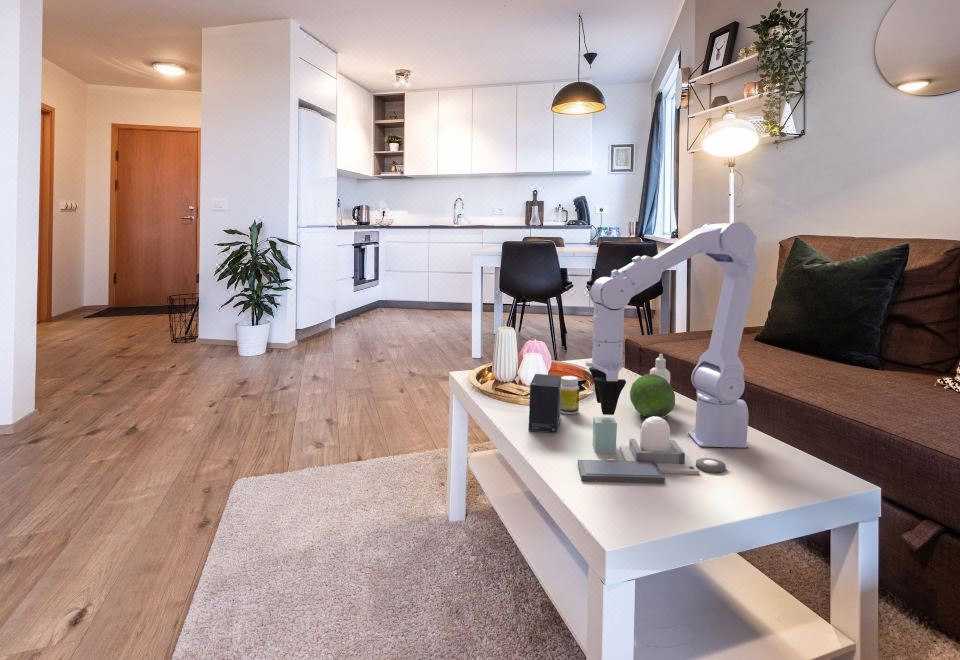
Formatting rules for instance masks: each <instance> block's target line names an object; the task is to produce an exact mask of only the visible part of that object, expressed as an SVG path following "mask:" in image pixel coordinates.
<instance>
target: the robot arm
mask: <svg viewBox="0 0 960 660" xmlns="http://www.w3.org/2000/svg"><path fill="white" fill-rule="evenodd" d="M757 238H758V237H757V235H756V233H754V231H753V230H752V229H751V227H750V226H749V224H746V223H745V222H741V221H733V222H726V223H725V222H724V223H721V222H720V223H719V222H718V223H716V222H709V223H705V224H704V225H703V226H702V227H698V228H695V229H693V230H692V231H691V232H689V234H687V235H685V236H684V237H683V238H680V239H679V240H678V241H676V242H675V243H673V244H671V245H670V246H668V247H667V248H665V249H663V250H662V251H661V252H659V253H657V254H656V255H655V256H652V257H651V256H648V255H642V256H640V255H636V256H634V257H633V258H631V261H632V262H630V263H628V264H627V265H625V266H623V267H621V268H619V269H613V270H612V271H611V272H610V273H611V274H610V277H609V276H602V277H599V278H597V279H596V280H595V281H594V282H593V284H592V285H591V288H590V290H589V291H588V295H589V298H590V300H591V302H592V304H593V316H592V317H593V323H592V347H591V348H592V349H591V351H592V353H591V360H586V361H585V366H586V367H588V370H589V372H590V375H591V377H592V380H593V381H592V382H593V385H594V391H595V392H594V393H595V399H596V402H597V404H600V408H601V413H602V416H603V415H604V416H614V415H615V413H616V409H617V406H618V401H619V398H620V395H621V393H622V391H623V389H624V388H625V386H626V384H627V381H626V379H625V378H624V379H619V372H620V371H621V370H622V369H623V368H624V362H623V355H624V354H623V351H624V332H625V330H624V325H625V307H626V306H627V305H628V304H629V303H630V301H631V299H632V298H633V297H634V296H636V295H638V294H641V292H643V291H644V290H646V289H648V288H650V287H652V286H654V285H655V284H657V283H658V282H660V281H661V278H662V274H663V272H665V271H667V270H668V269H671V268H674V267H675V266H677V265H678V264H681V263H683V262H684V261H686V260H688V259H690V258H692V257H694V256H695V255H698V254H703V255H705V256H707V257H709V258H710V259H712V260H713V261H715V263H717V265H718V266H719V267H720V268H721V269H722V271H723V272H724V277H723V282H722V285H721V291H720V295H719V300H718V305H717V308H716V313H715V317H714V323H713V326H712V327H713V328H712V333H711V335H710V336H711V337H710V341H709V345H708V349H706V351H704V352H702V354H701V355H700V356H699V359H698V362H697V364H696V366H695V368H693V370H692V373H691V376H690V377H691V379H690V381H691V383H692V386H693V387H694V389H696V407H695V408H696V409H695V410H696V411H695V428H694V431H693V430H690V431H688V435H689V436H690V437H691V438H692V440H693V441H694V442H695V443H696V444H697V445H698V446H699V447H703V448H704V447H705V448H706V447H708V448H714V447H715V448H744V449H745V448H748V447H749V445H748V444H747V441H748V440H747V439H748V431H749V430H748V428H749V409H748V405H747V403H746V401H745V400H744V399H740V398H741V396H742V395H743V394H744V391H745V387H746V386H745V385H746V384H745V380H744V374H745V373H744V372H745V366H744V364H743V362H742V361H741V358H740V357H739V355H738V353H739V351H740V346H741V345H740V344H741V342H742V337H743V332H744V328H745V324H746V320H747V315H748V309H749V306H750V301H751V297H752V292H753V288H754V283H755V279H756V274H757V270H758V263H757V258H756V253H755V252H756V251H755V247H756V244H757V243H756V242H757Z"/></svg>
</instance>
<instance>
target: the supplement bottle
mask: <svg viewBox="0 0 960 660" xmlns="http://www.w3.org/2000/svg"><path fill="white" fill-rule="evenodd" d="M578 384H579V378H578V377H577V376H573V375H564V376H561V411H560V414H563V415H576V414H578V413H579V411H580V408H579V407H580V403H579V402H580V386H579V385H578Z"/></svg>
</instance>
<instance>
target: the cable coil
mask: <svg viewBox="0 0 960 660" xmlns="http://www.w3.org/2000/svg"><path fill="white" fill-rule="evenodd" d="M695 466H696V467H697V469H698V470H699V471H703V472H705V473H712V474H720V473H724V472H725V471H726V467H727V466H726V463H725V462H724V461H722V460H719V459H716V458H712V457H700V458H697V459H696V460H695Z"/></svg>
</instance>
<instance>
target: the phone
mask: <svg viewBox="0 0 960 660" xmlns="http://www.w3.org/2000/svg"><path fill="white" fill-rule="evenodd" d="M577 468H578V471H579V475H580V480H581V481H582V482H603V483H605V482H607V483H609V482H611V483H639V484H640V483H645V484H665V482H666V481H665V480H666V478H665V476H664V473H662V472H661V470H660V469H659V467H658V465H657V464H656V462H646V461H625V460H617V459H616V458H606V460H604V459H603V460H602V459H601V460H600V459H599V460H598V459H577Z"/></svg>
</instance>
